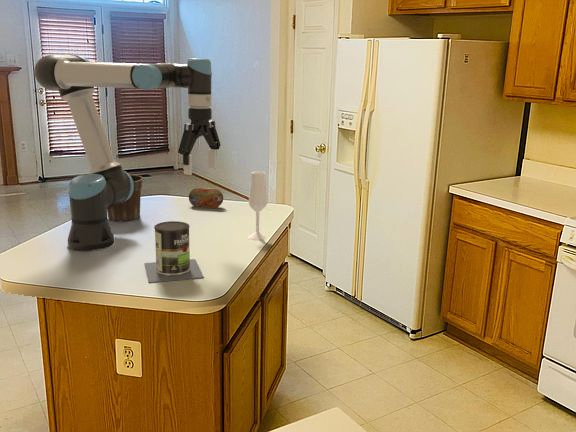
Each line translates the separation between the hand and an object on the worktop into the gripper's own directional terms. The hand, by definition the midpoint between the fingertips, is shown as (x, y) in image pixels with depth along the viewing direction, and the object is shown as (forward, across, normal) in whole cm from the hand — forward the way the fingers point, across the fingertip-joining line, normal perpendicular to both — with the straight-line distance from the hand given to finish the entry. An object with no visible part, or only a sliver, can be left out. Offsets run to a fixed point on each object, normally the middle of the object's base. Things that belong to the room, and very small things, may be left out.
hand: (200, 171), depth 193 cm
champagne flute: (+26, +18, -12) cm, 34 cm away
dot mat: (+26, -25, -8) cm, 37 cm away
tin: (+26, +42, +28) cm, 58 cm away
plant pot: (+27, +10, +46) cm, 54 cm away
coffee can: (+26, -25, -8) cm, 37 cm away
